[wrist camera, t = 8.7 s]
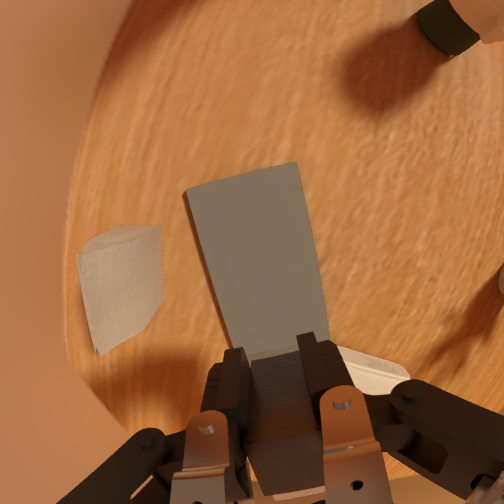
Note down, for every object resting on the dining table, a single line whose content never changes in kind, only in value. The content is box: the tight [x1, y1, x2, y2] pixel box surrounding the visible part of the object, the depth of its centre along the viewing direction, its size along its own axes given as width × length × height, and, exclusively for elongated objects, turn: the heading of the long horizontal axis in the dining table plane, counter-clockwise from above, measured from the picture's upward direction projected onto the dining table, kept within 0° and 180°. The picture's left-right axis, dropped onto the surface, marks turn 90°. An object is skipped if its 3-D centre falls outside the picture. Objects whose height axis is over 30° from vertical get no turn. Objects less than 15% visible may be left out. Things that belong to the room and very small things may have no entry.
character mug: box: [417, 0, 504, 55], centre depth 12 cm, size 11×7×13 cm, turn 161°
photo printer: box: [337, 346, 410, 395], centre depth 26 cm, size 10×4×12 cm
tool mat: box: [186, 162, 331, 355], centre depth 25 cm, size 18×9×1 cm, turn 14°
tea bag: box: [76, 225, 165, 357], centre depth 20 cm, size 4×7×10 cm, turn 178°
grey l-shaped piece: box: [243, 337, 326, 501], centre depth 11 cm, size 12×5×7 cm, turn 14°
